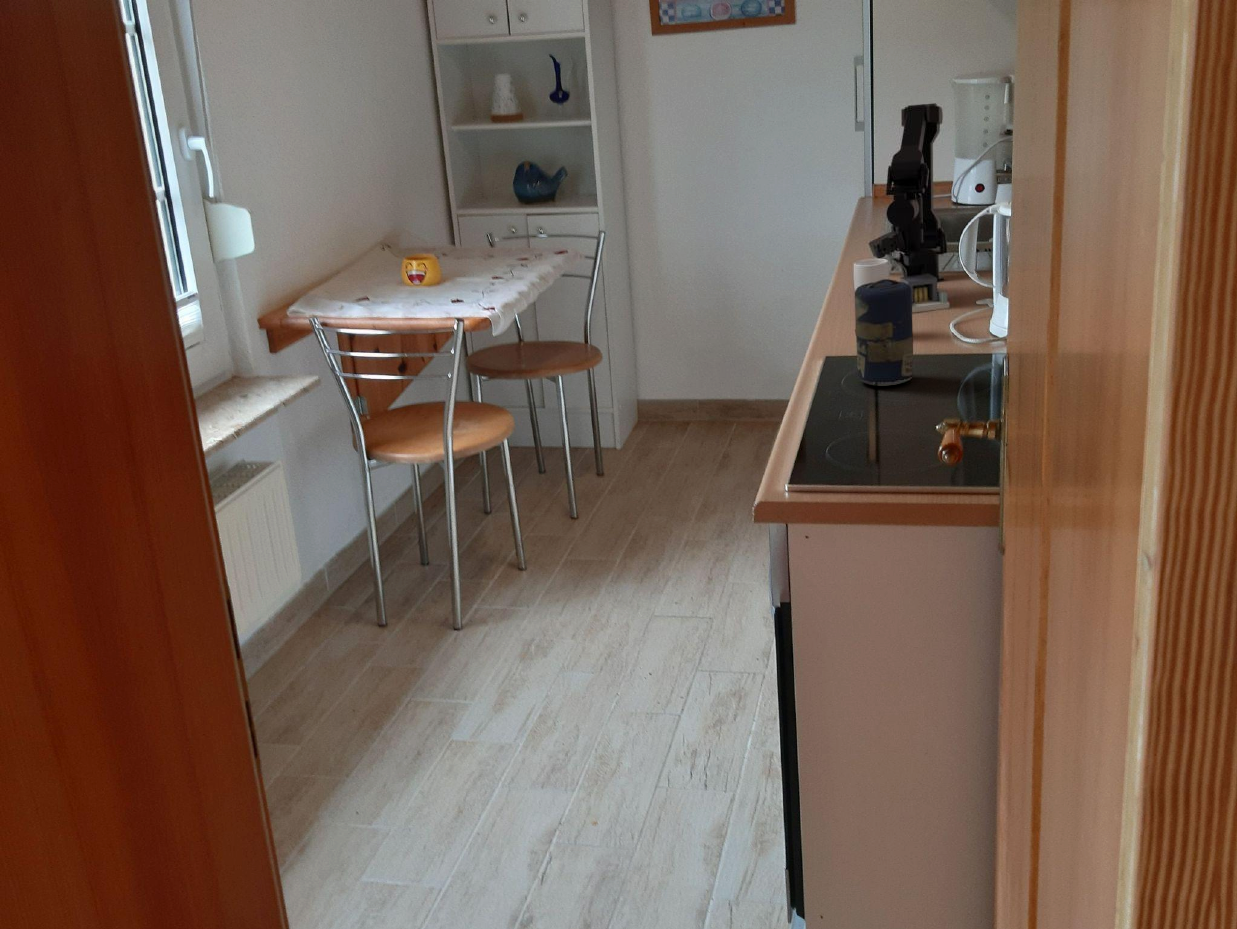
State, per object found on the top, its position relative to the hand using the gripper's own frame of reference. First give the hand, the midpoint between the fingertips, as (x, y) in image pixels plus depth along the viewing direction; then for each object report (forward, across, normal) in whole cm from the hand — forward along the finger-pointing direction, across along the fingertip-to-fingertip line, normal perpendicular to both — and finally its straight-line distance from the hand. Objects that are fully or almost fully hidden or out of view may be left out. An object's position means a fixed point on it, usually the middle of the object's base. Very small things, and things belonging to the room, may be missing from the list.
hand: (911, 291), depth 261 cm
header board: (+2, +1, 0) cm, 3 cm away
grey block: (+1, +5, 0) cm, 5 cm away
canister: (+3, +57, -23) cm, 62 cm away
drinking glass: (+3, +26, -16) cm, 31 cm away
